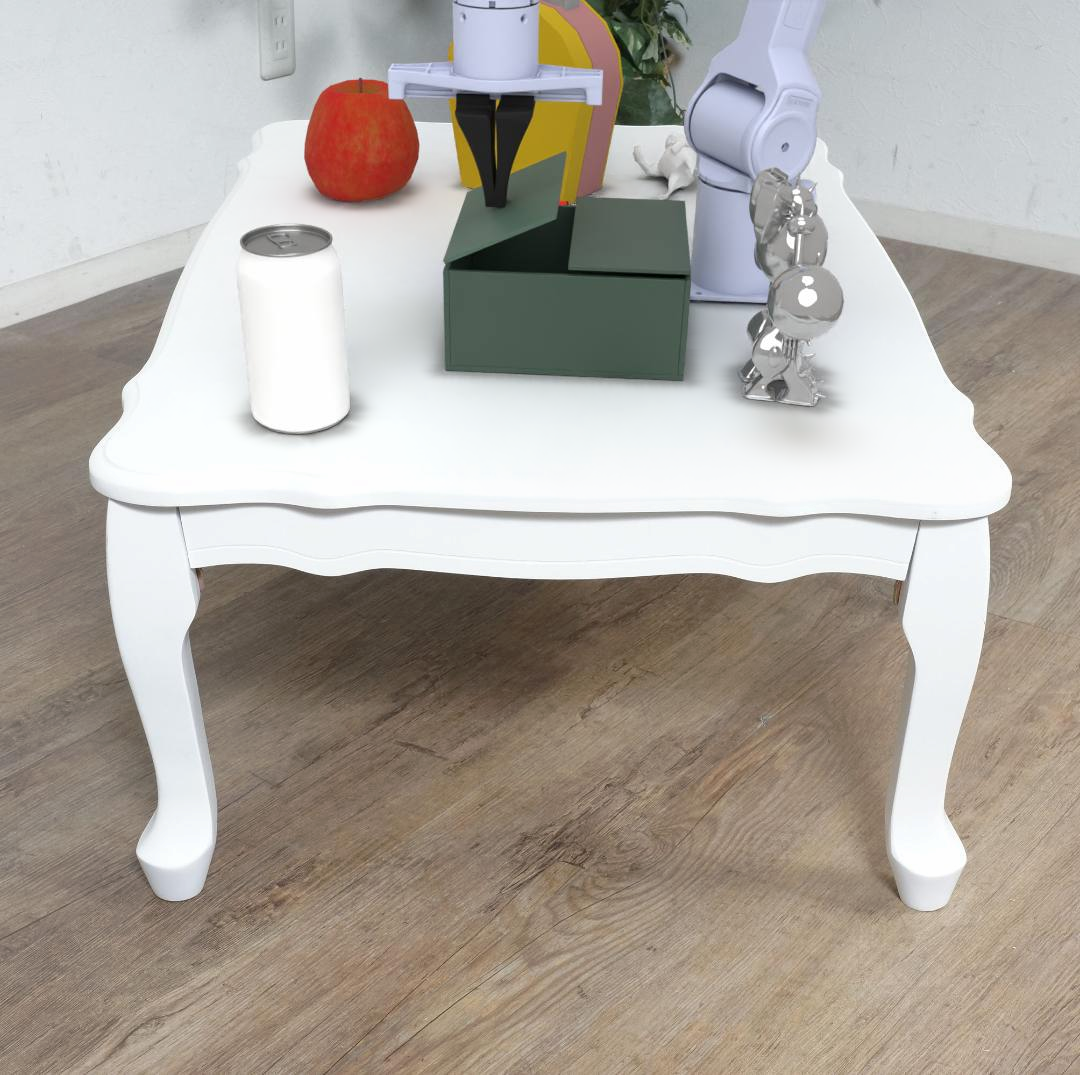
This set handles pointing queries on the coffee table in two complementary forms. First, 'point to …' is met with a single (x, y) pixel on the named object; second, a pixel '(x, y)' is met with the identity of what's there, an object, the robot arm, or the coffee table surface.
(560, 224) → the storage box
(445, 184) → the coffee table surface
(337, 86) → the apple
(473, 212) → the green box lid
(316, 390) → the can
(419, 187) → the coffee table surface
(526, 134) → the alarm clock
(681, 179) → the figurine
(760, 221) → the robot toy
